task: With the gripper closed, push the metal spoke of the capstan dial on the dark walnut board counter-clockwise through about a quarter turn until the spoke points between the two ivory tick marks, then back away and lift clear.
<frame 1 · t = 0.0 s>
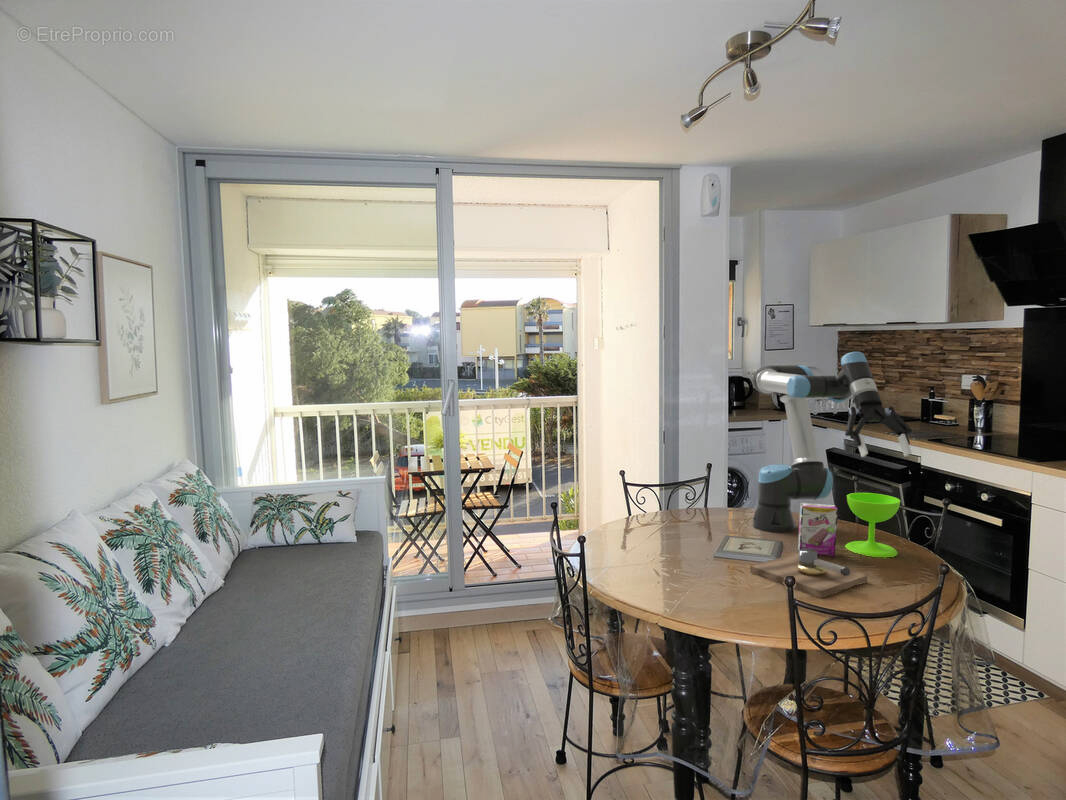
hand: (886, 455, 198), 36 cm above the table, tool tilted 35°, fingers open, 13 cm apart
candy bar box: (816, 553, 217), on the table
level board: (807, 577, 195), on the table
capstan: (824, 565, 190), point 5 cm above the table, hinge at 0.0°
wineglass: (870, 551, 219), on the table
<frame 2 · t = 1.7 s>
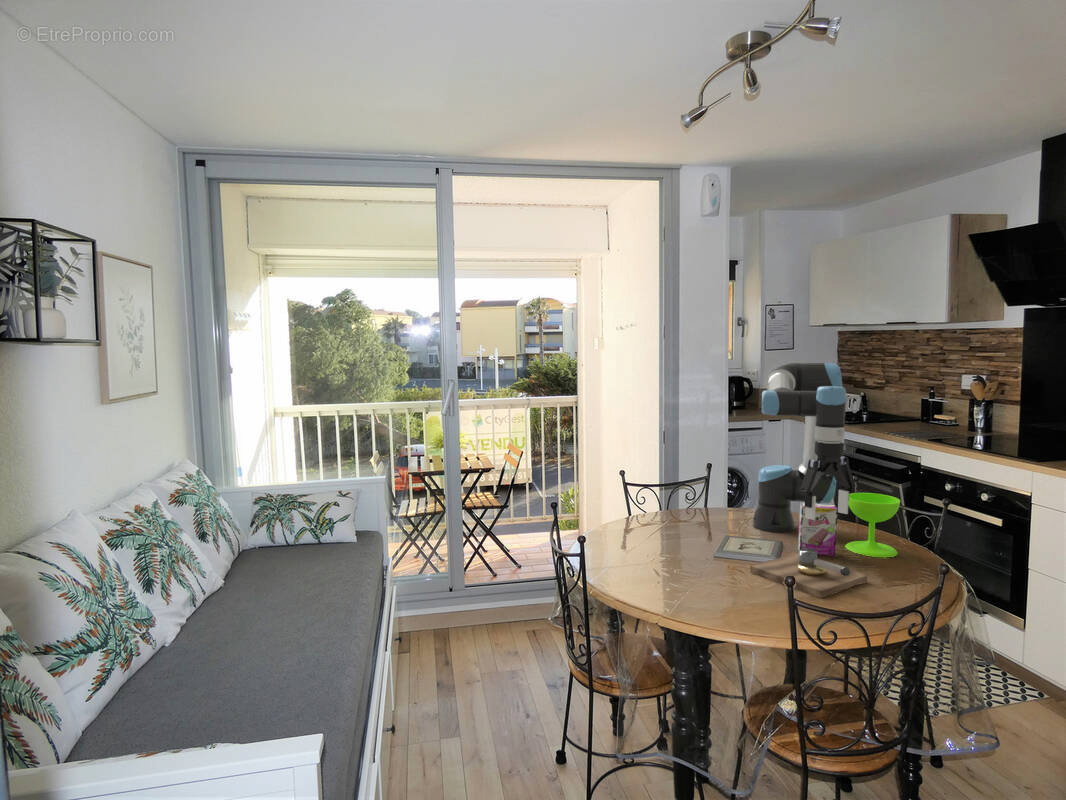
hand: (826, 515, 184), 21 cm above the table, tool pointing down, fingers open, 13 cm apart
nothing on the table moved.
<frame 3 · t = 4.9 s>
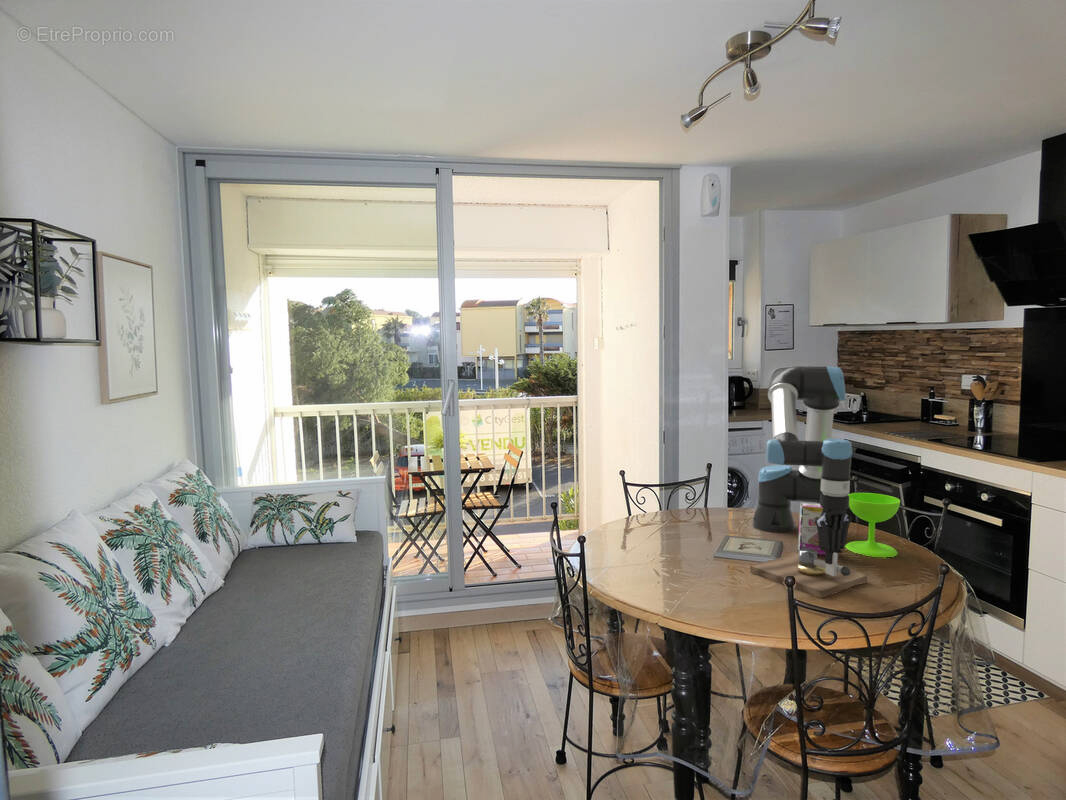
hand: (831, 574, 187), 4 cm above the table, tool pointing down, fingers closed
capstan: (824, 565, 190), point 5 cm above the table, hinge at 0.7°, touching gripper
everything else where it was.
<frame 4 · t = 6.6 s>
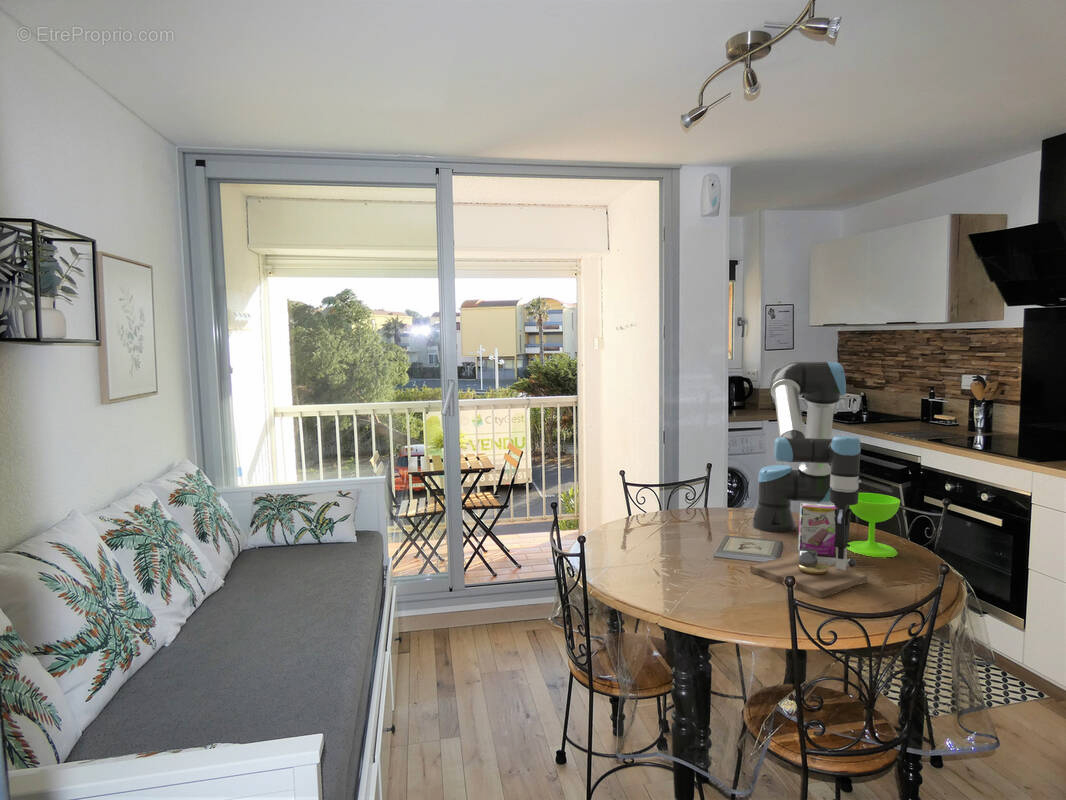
hand: (840, 568, 190), 4 cm above the table, tool pointing down, fingers closed
capstan: (827, 561, 193), point 5 cm above the table, hinge at 43.1°, touching gripper
everything else where it was.
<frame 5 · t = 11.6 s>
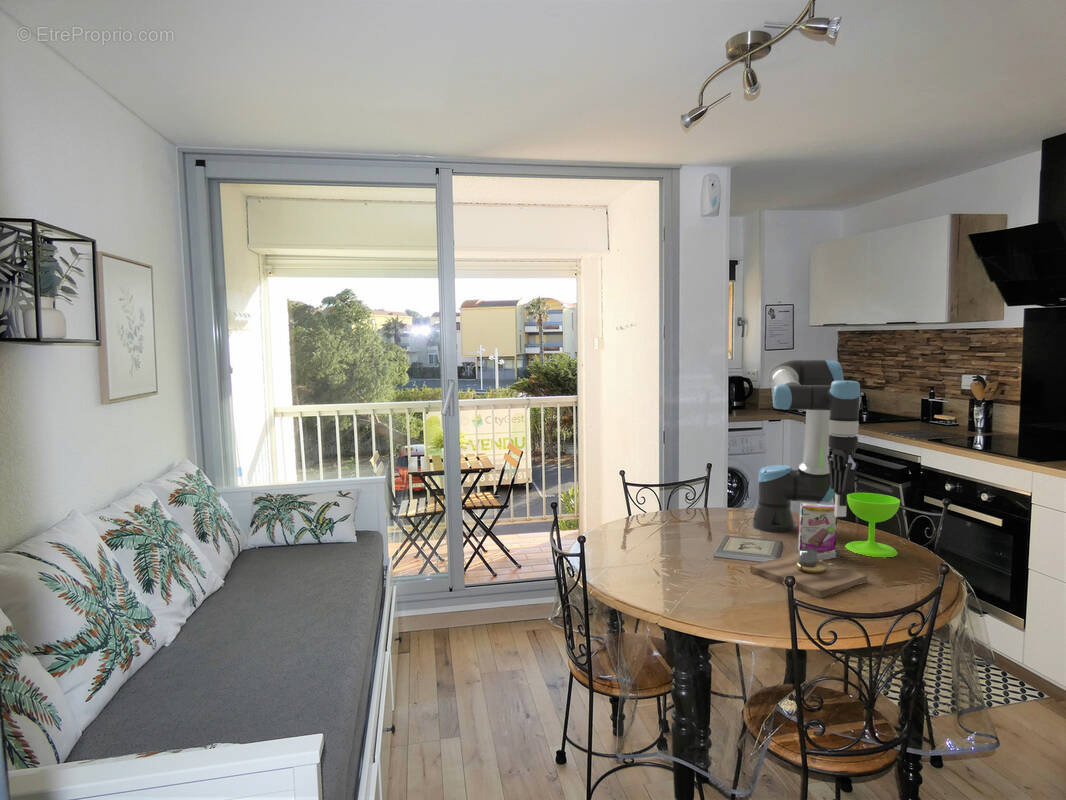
hand: (840, 515, 187), 20 cm above the table, tool pointing down, fingers closed
capstan: (820, 557, 197), point 5 cm above the table, hinge at 83.6°
everything else where it was.
at the end: capstan at +84° (first picture: +0°); capstan touching nothing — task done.
